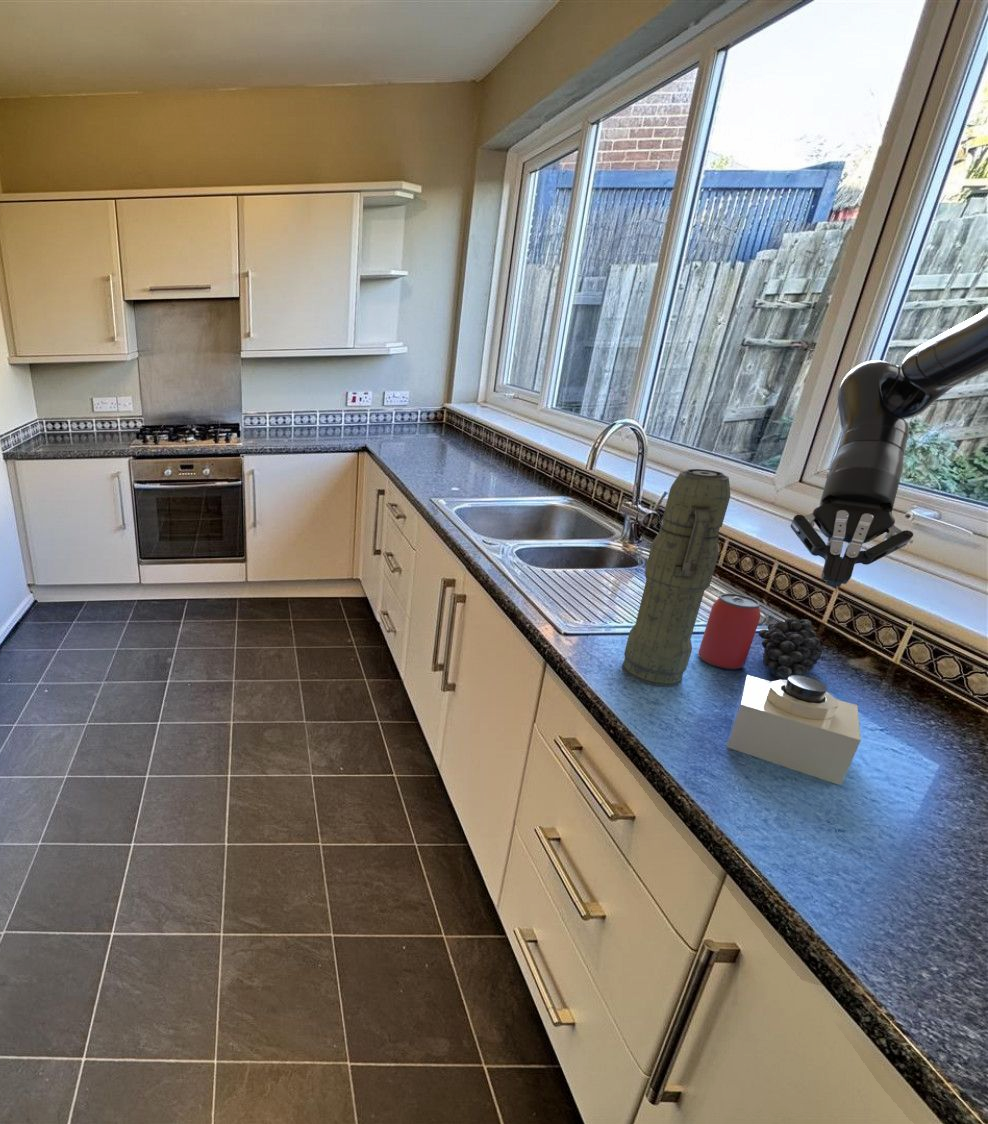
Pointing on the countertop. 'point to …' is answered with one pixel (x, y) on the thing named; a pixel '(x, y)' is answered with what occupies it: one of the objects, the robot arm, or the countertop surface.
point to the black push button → (805, 689)
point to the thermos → (677, 578)
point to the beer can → (730, 631)
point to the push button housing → (795, 730)
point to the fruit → (790, 647)
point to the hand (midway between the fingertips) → (834, 583)
